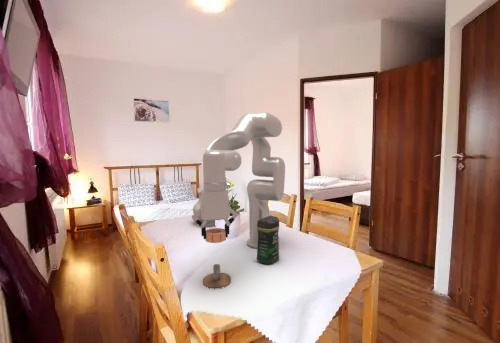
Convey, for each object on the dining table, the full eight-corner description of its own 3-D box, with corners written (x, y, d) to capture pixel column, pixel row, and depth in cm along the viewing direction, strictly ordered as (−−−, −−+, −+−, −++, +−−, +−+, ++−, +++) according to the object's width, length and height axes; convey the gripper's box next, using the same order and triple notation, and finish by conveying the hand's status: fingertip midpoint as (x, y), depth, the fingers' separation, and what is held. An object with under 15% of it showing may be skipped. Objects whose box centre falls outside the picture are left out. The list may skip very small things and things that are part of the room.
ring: (224, 235, 104) (224, 227, 104) (226, 241, 97) (226, 233, 97) (204, 236, 102) (204, 228, 102) (206, 243, 96) (206, 235, 95)
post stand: (228, 273, 108) (228, 258, 107) (232, 286, 98) (232, 270, 97) (202, 276, 106) (201, 261, 105) (203, 290, 96) (203, 273, 95)
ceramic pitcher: (227, 230, 163) (229, 187, 160) (192, 230, 158) (194, 186, 156) (222, 220, 184) (224, 182, 182) (191, 219, 179) (193, 180, 177)
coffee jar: (270, 266, 113) (270, 221, 111) (254, 261, 118) (253, 218, 116) (282, 258, 121) (282, 216, 119) (266, 254, 126) (266, 213, 123)
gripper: (237, 184, 103) (238, 232, 105) (188, 186, 100) (190, 235, 101) (241, 187, 96) (241, 238, 98) (189, 190, 92) (190, 242, 94)
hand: (215, 236), depth 100 cm, fingers closed on ring, 7 cm apart
